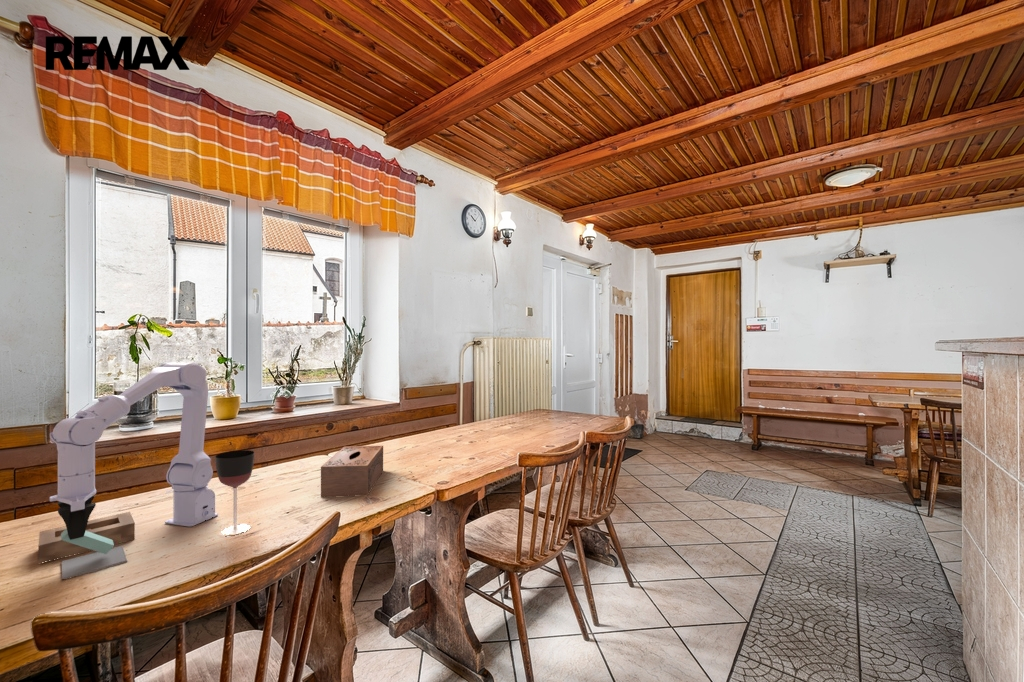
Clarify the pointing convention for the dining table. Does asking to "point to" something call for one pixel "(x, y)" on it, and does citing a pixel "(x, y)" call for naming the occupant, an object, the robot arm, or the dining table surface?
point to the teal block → (90, 541)
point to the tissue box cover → (351, 471)
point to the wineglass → (235, 479)
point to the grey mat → (92, 562)
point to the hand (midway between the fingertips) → (76, 534)
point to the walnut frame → (109, 527)
